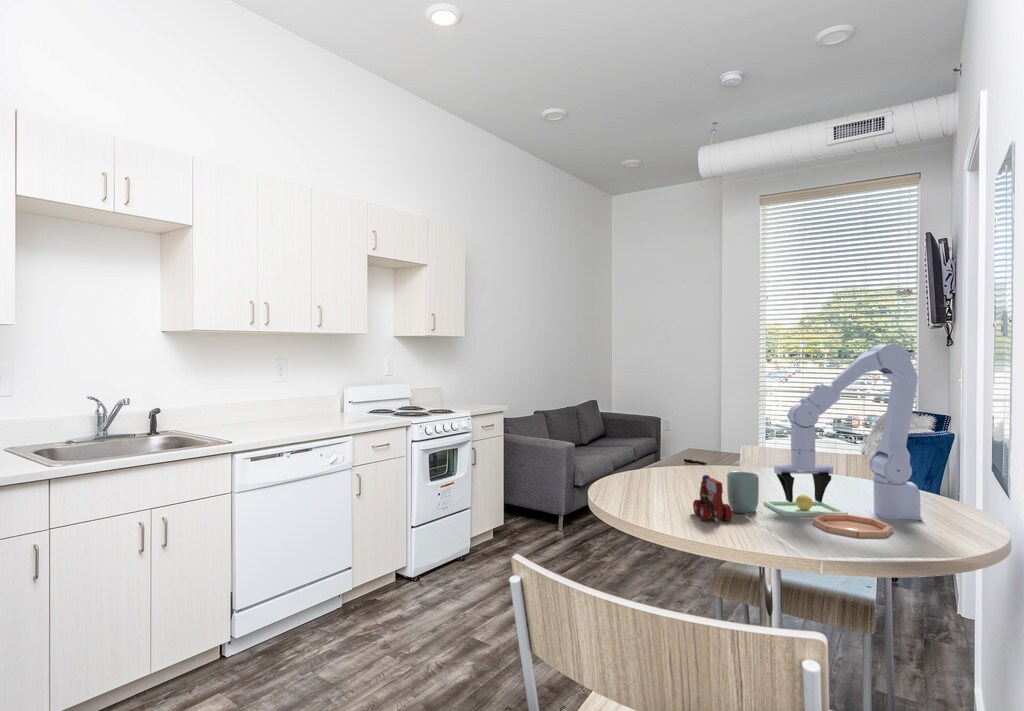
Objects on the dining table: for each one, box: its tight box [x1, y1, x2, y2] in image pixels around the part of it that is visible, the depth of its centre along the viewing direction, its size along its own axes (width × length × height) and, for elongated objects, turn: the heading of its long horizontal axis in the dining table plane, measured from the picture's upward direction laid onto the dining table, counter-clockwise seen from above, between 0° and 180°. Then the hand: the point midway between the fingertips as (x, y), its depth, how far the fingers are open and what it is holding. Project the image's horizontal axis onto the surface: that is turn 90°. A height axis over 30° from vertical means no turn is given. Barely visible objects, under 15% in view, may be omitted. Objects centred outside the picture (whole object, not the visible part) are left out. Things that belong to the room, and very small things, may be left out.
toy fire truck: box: [692, 474, 733, 522], centre depth 141 cm, size 7×12×10 cm, turn 179°
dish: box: [812, 513, 894, 539], centre depth 130 cm, size 15×15×2 cm
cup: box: [726, 471, 760, 515], centre depth 146 cm, size 8×8×10 cm
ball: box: [795, 494, 813, 510], centre depth 146 cm, size 4×4×4 cm
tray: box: [763, 500, 849, 517], centre depth 146 cm, size 16×12×2 cm
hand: (803, 501), depth 146 cm, fingers open, 7 cm apart
